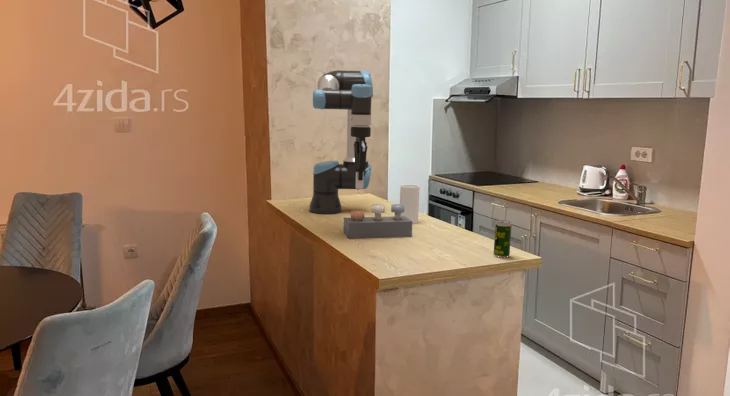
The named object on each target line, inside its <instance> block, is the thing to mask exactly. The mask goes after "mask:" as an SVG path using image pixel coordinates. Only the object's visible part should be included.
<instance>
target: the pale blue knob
mask: <svg viewBox="0 0 730 396" xmlns="http://www.w3.org/2000/svg"><path fill="white" fill-rule="evenodd" d="M390 206H391V208H390V211H391V212H390V213H394V216H395V217H394V220H401V213H403V212H404V209H405V206H404V205H401V204H400V203H398V204H395V203H394V204H390Z"/></svg>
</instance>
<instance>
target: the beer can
mask: <svg viewBox="0 0 730 396" xmlns="http://www.w3.org/2000/svg"><path fill="white" fill-rule="evenodd" d="M494 225H495V226H494V240H493V242H494V243H493V255H495V256H499V257H507V256H509V257H510V253H511V241H512V240H511V239H512V236H511V235H512V222H511V221H510V220H504V219H503V220H501V219H500V220H496V221H495V224H494ZM495 256H494V257H495ZM499 257H498V258H499ZM507 258H508V257H507Z"/></svg>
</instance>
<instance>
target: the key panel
mask: <svg viewBox="0 0 730 396" xmlns="http://www.w3.org/2000/svg"><path fill="white" fill-rule="evenodd" d="M394 217H395V215H394V216H381V220H375V216H365V217H364V219H361V221H355V219H353V218H351V217H343V232H344V233H343V234H344V235H345V237H346V238H347V239H348V240H349V239H354V238H355V239H370V238H371V239H377V238H378V239H379V238H382V239H384V238H398V237H399V238H406V237H407V238H408V237H409V238H410V237H413V224H412V221H411V220H410V219H408V218H407V217H405V216H401V220H394Z"/></svg>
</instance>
